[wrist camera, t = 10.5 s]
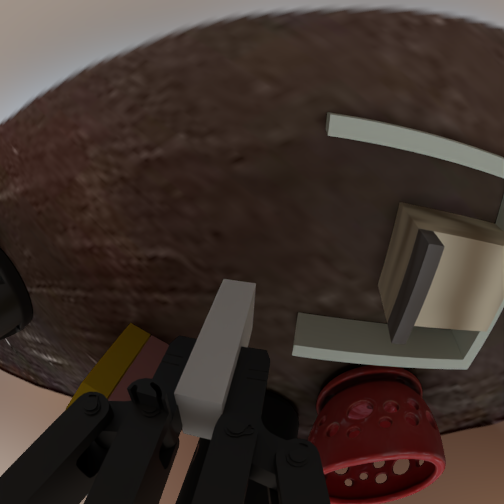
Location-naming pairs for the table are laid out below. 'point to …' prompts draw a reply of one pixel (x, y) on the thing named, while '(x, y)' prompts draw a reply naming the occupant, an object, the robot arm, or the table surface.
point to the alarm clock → (124, 365)
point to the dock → (377, 334)
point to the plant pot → (376, 435)
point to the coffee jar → (275, 421)
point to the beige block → (441, 272)
